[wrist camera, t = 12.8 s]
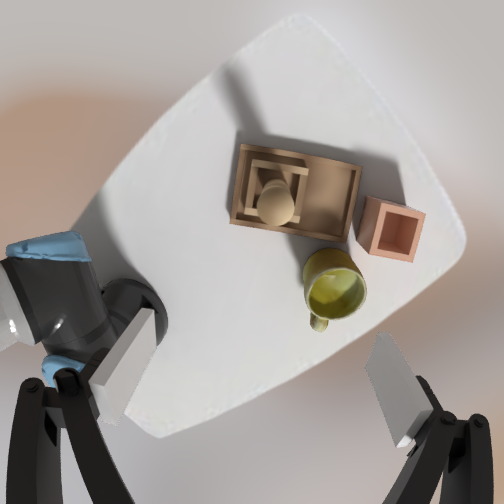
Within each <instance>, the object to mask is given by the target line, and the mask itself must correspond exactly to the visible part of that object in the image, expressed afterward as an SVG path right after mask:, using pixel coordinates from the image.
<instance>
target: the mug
mask: <svg viewBox="0 0 504 504" xmlns="http://www.w3.org/2000/svg"><path fill="white" fill-rule="evenodd" d="M303 281H304V296H305V301H306V304H307V307H308V309H309V310H310V311H311V314H310V315H311V319H310V325H311V327H312V328H313V329H314V330H315V331H318V332H323V331H324V330H325V329H326V327H327V325H328V320H340V319H344V318H347V317H349V316H351V315H353V314H354V313H355V312H356V311H357V310H358V309H360V307H361V306H362V305H363V303H364V302H365V299H366V295H367V288H366V284H365V281H364V278H363V276H362V274H361V272H360V270H359V269H358V268H357V266H356V265H355V263H354V262H353V261H352V259H351V258H350V256H349V255H348V254H347V253H345V252H344V251H342V250H339V249H336V248H325V249H321V250H319V251H317V252H315V253H314V254H313V255H311V256H310V258H309V259H308V260H307V262H306V264H305V266H304V269H303Z"/></svg>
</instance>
